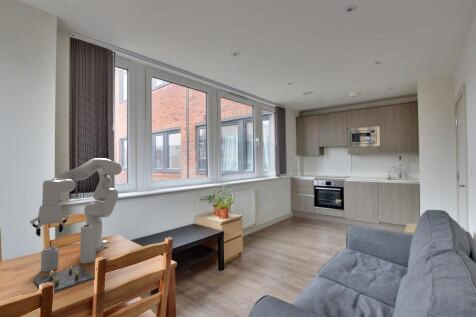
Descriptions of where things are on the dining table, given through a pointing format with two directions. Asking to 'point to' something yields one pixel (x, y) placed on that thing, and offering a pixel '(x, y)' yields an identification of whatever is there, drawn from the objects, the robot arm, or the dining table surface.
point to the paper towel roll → (88, 244)
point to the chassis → (65, 278)
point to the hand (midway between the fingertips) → (49, 233)
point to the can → (49, 259)
